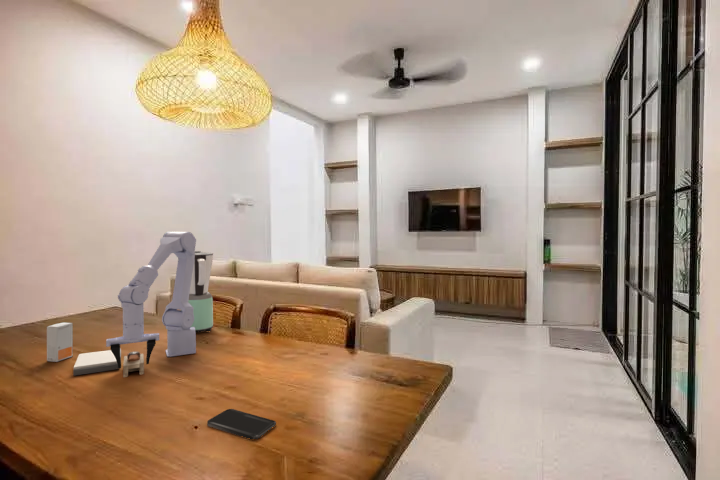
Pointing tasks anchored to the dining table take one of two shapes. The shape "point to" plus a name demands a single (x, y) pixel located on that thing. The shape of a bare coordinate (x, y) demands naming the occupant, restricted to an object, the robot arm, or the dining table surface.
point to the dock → (95, 362)
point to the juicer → (201, 292)
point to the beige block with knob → (133, 365)
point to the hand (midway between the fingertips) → (133, 365)
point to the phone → (241, 423)
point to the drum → (133, 356)
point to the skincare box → (59, 341)
